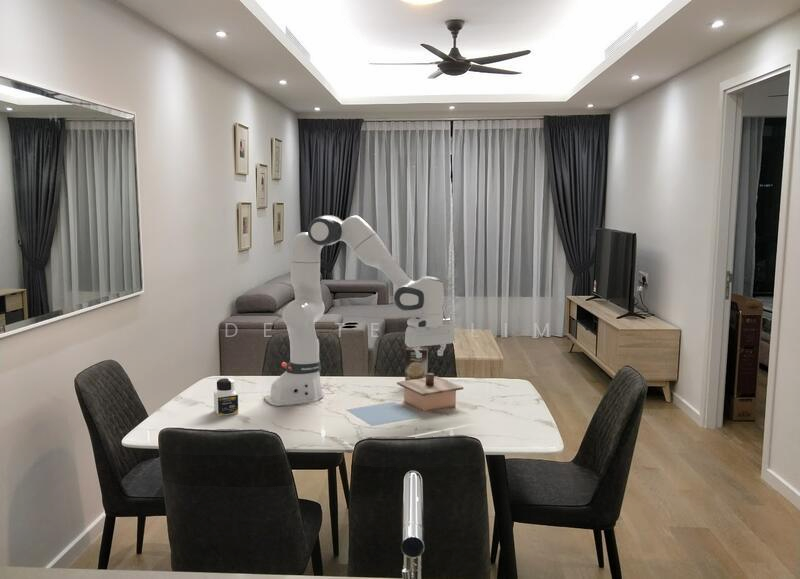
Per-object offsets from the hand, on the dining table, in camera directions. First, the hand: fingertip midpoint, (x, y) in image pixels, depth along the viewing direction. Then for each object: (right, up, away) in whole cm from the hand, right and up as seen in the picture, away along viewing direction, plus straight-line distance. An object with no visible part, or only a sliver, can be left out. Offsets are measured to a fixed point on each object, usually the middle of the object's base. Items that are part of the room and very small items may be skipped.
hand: (429, 356), depth 242 cm
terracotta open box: (0, -18, +2) cm, 18 cm away
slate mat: (-17, -20, -10) cm, 28 cm away
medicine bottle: (-74, -19, -9) cm, 77 cm away
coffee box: (-4, -15, +27) cm, 32 cm away
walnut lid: (0, -11, +1) cm, 11 cm away
